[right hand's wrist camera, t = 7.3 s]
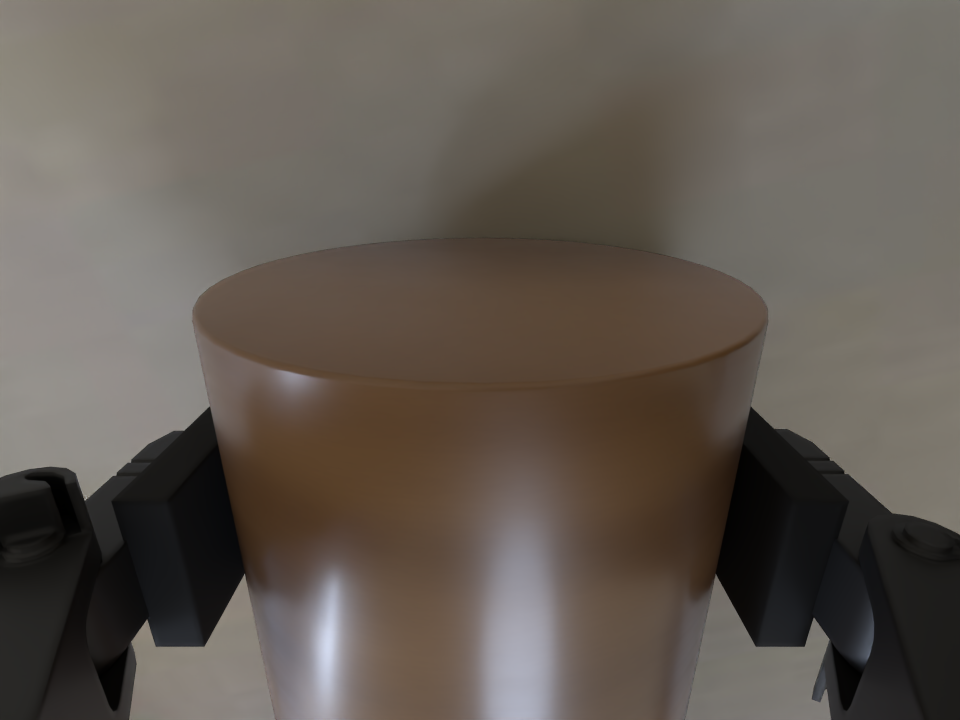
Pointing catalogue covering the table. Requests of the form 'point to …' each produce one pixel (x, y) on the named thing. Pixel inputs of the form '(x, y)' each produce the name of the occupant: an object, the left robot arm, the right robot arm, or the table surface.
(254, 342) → the rod
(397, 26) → the table surface
